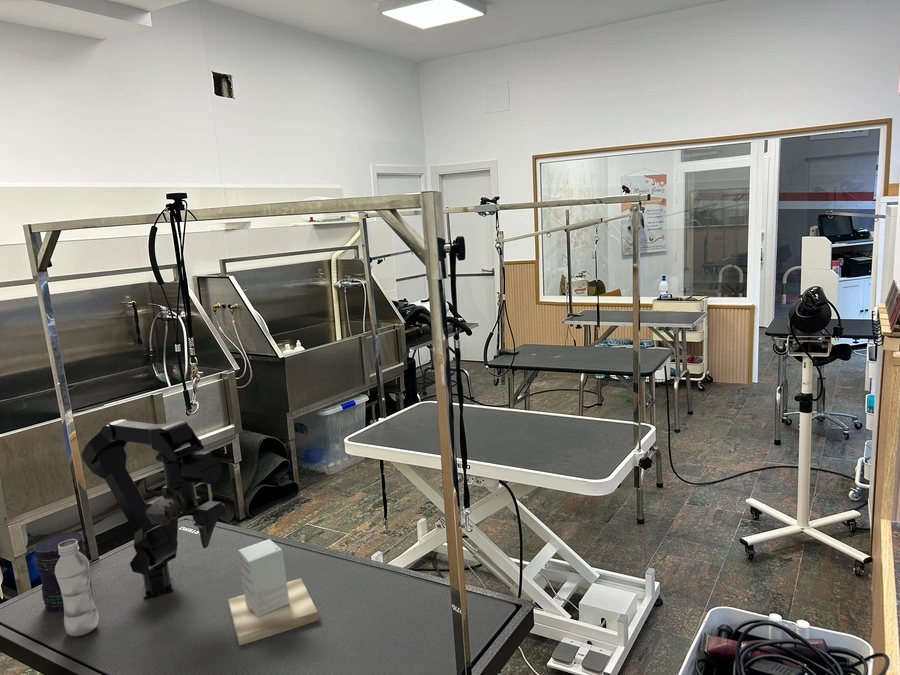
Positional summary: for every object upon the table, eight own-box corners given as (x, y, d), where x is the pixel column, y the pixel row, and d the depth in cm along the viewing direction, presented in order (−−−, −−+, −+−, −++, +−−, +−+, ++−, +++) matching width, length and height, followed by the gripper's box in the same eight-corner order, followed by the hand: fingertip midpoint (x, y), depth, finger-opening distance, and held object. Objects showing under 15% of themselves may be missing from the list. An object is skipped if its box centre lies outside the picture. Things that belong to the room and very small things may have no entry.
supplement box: (277, 591, 146) (270, 537, 144) (290, 604, 140) (283, 549, 138) (244, 604, 142) (237, 549, 140) (256, 618, 136) (248, 561, 134)
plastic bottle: (64, 644, 136) (47, 553, 133) (68, 627, 142) (52, 540, 139) (99, 634, 138) (83, 545, 135) (101, 618, 144) (86, 533, 141)
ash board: (229, 607, 145) (228, 599, 144) (301, 586, 151) (300, 578, 151) (239, 645, 130) (238, 636, 130) (318, 620, 137) (317, 611, 137)
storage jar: (45, 599, 155) (34, 540, 152) (92, 586, 160) (82, 528, 157) (44, 619, 146) (32, 556, 144) (94, 604, 151) (83, 543, 149)
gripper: (118, 489, 141) (129, 557, 144) (184, 496, 134) (195, 568, 136) (159, 471, 152) (169, 534, 154) (222, 476, 144) (232, 543, 147)
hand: (189, 545), depth 147 cm, fingers open, 9 cm apart
